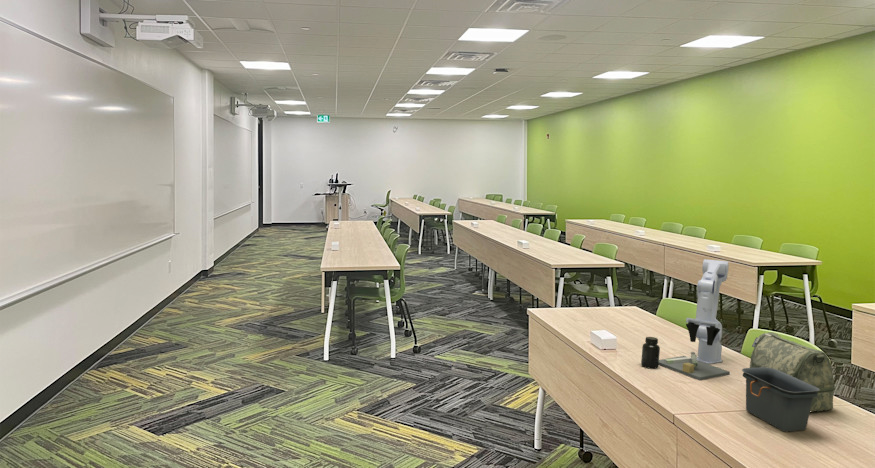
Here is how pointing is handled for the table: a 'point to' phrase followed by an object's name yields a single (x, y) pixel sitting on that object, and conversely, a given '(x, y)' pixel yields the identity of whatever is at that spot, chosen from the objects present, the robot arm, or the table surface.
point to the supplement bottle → (650, 353)
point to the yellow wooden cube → (688, 367)
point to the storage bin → (778, 398)
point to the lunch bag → (796, 365)
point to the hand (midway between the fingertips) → (701, 343)
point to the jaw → (694, 360)
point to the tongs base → (699, 372)
